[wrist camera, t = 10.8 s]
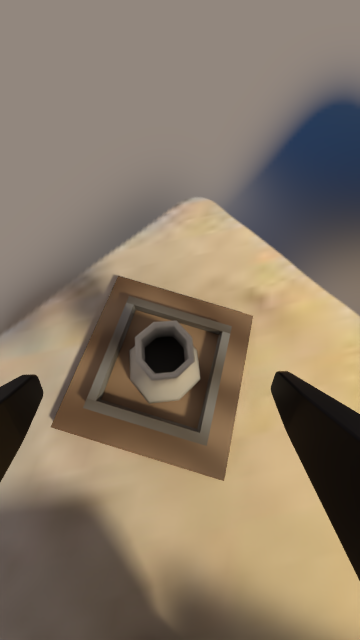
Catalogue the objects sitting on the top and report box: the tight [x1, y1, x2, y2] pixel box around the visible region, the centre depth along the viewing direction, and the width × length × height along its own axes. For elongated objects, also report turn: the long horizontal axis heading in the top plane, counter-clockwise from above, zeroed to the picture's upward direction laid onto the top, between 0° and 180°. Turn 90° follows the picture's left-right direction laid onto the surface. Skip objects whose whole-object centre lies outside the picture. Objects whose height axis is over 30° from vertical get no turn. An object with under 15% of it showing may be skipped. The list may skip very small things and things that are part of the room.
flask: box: [129, 320, 201, 404], centre depth 15 cm, size 7×7×10 cm
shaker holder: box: [51, 276, 253, 481], centre depth 19 cm, size 16×16×2 cm
